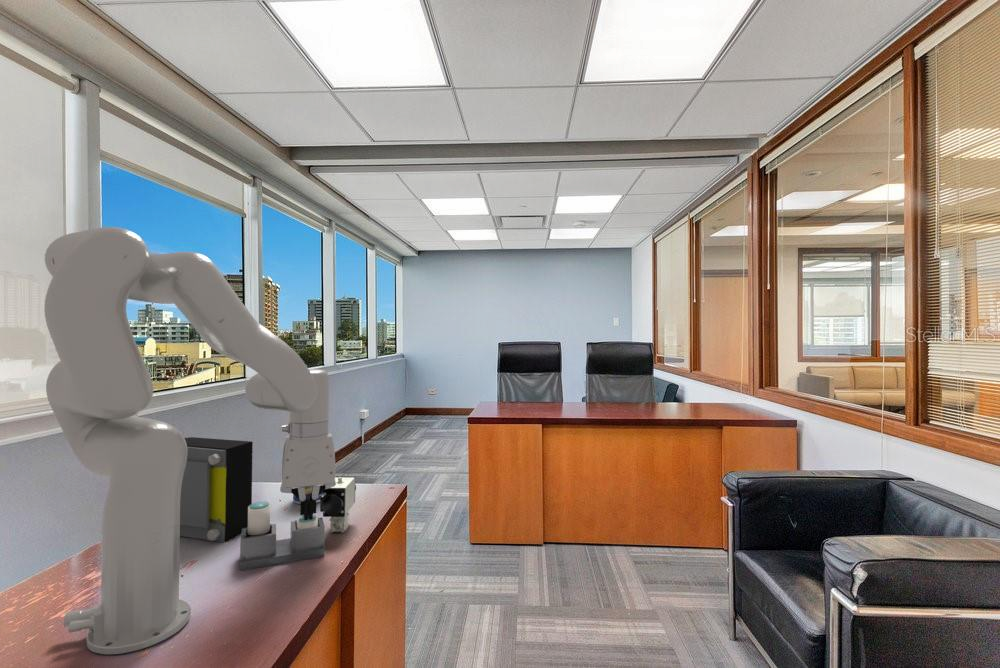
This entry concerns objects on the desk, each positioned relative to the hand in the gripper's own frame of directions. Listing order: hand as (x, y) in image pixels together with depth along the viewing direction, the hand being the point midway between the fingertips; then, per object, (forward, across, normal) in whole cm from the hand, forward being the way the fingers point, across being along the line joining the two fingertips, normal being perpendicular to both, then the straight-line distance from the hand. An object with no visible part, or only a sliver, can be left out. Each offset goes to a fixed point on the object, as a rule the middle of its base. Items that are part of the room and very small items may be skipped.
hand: (308, 517), depth 100 cm
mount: (+7, -5, 0) cm, 8 cm away
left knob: (+1, -9, 0) cm, 9 cm away
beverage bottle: (+7, +2, +32) cm, 33 cm away
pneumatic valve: (+7, +7, +8) cm, 13 cm away
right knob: (+5, 0, 0) cm, 5 cm away
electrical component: (+7, -21, +19) cm, 29 cm away
